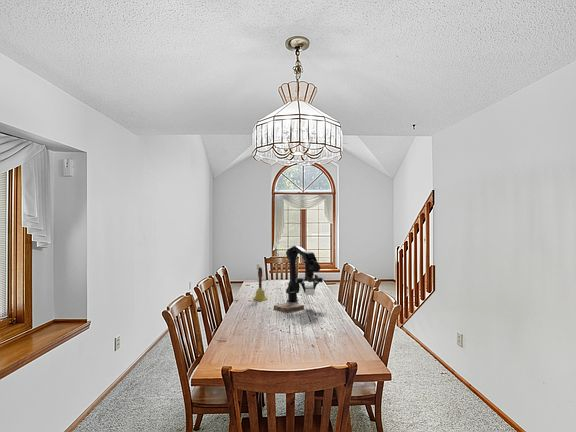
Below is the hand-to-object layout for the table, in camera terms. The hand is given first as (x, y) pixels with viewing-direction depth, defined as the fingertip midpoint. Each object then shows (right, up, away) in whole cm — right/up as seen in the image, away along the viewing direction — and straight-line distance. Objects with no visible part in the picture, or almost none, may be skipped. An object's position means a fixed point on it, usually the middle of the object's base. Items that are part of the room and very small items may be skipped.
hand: (309, 292), depth 278 cm
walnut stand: (-14, -11, -4) cm, 18 cm away
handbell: (-37, -11, +28) cm, 48 cm away
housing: (0, -1, 0) cm, 1 cm away
